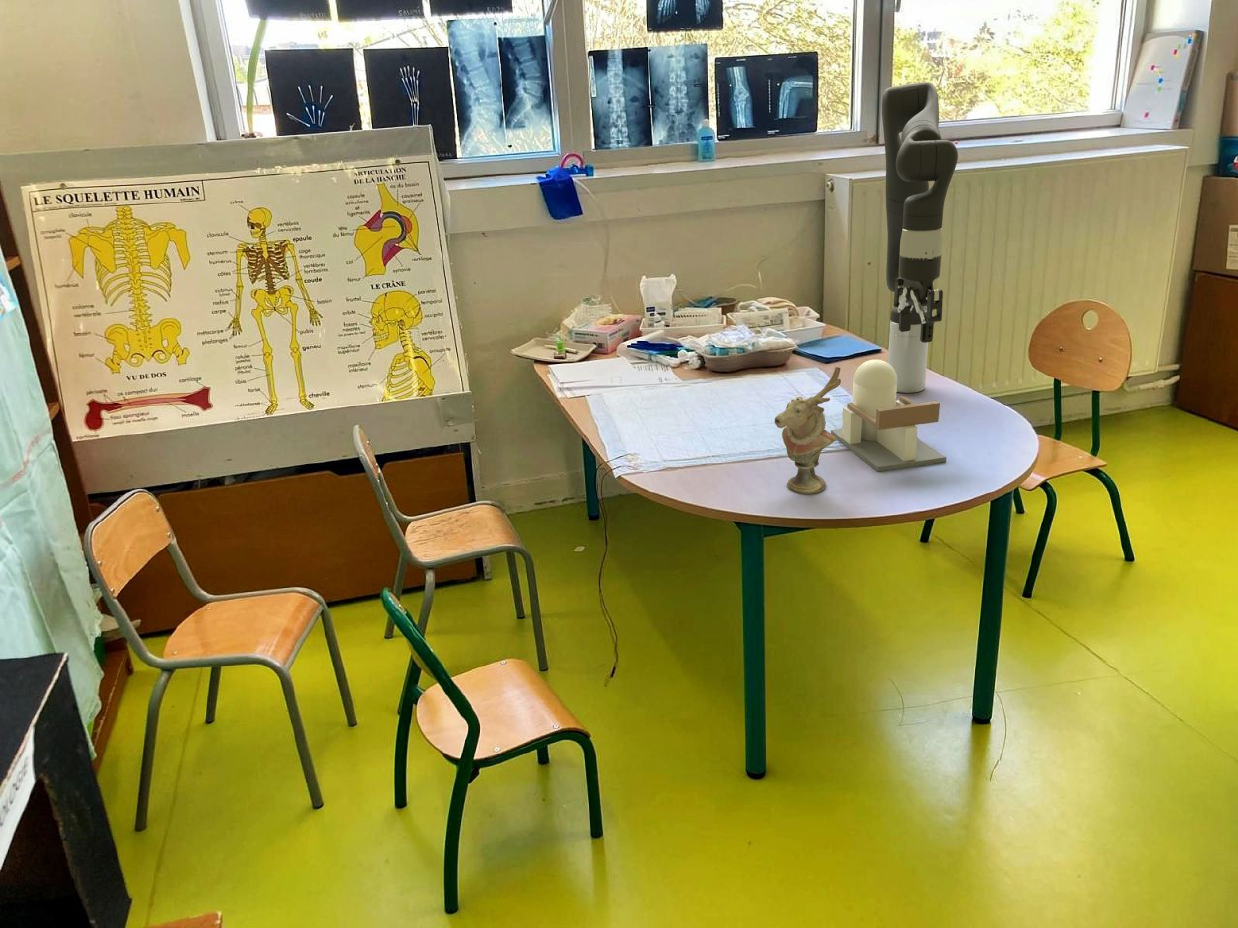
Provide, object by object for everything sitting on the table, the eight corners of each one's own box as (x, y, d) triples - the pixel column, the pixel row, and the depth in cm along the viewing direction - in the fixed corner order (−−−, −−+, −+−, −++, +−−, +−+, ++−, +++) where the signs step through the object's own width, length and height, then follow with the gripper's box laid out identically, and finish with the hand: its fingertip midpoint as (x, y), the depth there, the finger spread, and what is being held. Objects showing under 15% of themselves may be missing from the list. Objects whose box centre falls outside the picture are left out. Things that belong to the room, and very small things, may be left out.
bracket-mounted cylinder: (830, 434, 206) (833, 358, 199) (893, 425, 208) (897, 350, 202) (877, 471, 185) (881, 388, 179) (945, 461, 188) (952, 379, 181)
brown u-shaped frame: (847, 407, 198) (847, 389, 196) (903, 400, 200) (904, 382, 198) (878, 430, 184) (879, 411, 183) (938, 421, 187) (939, 403, 185)
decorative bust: (763, 495, 175) (780, 365, 168) (778, 477, 187) (795, 355, 179) (820, 507, 171) (840, 374, 164) (832, 488, 183) (852, 364, 175)
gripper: (884, 248, 180) (880, 330, 186) (921, 261, 167) (915, 348, 173) (920, 245, 181) (914, 326, 187) (959, 257, 168) (952, 343, 174)
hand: (915, 336), depth 180 cm, fingers open, 8 cm apart
